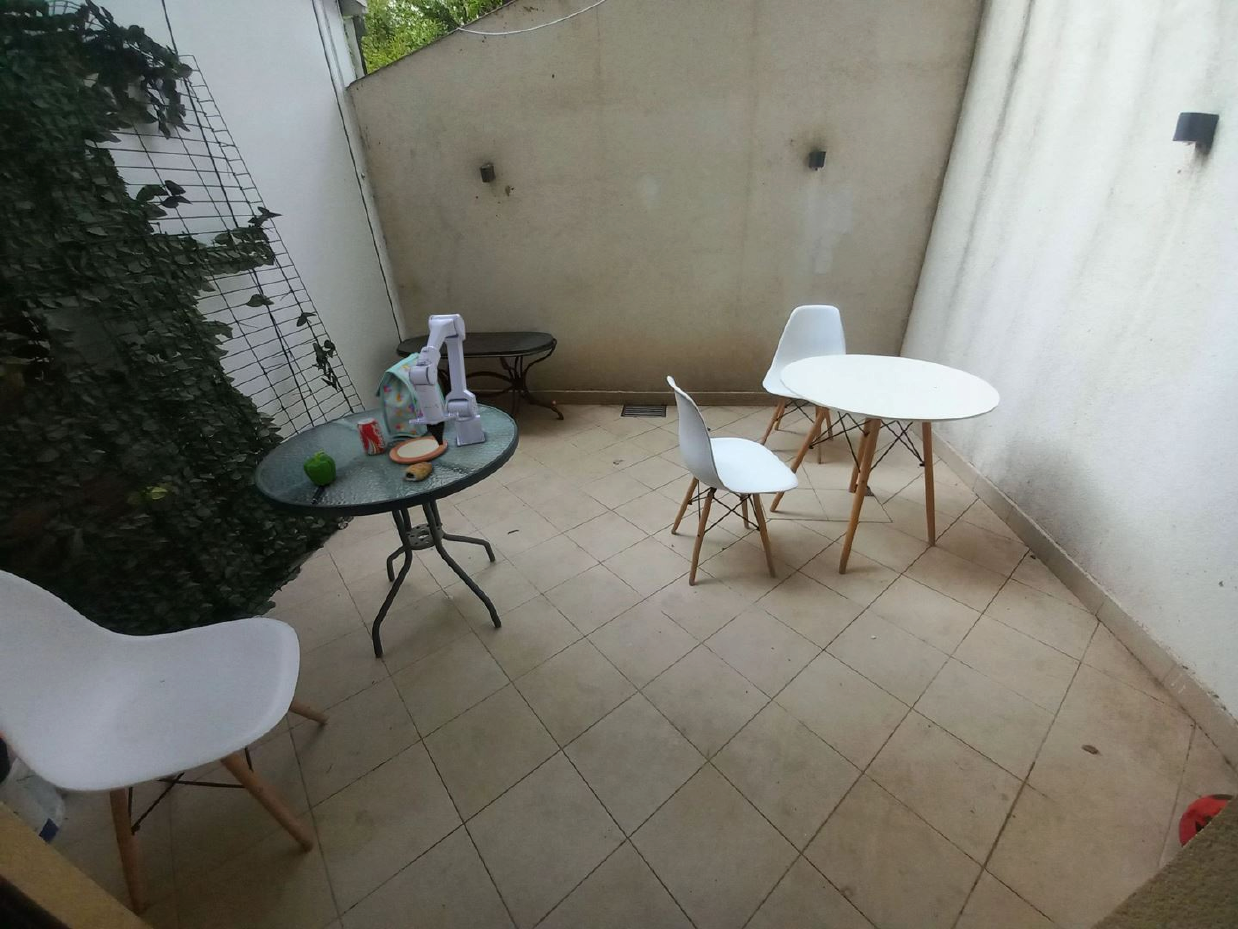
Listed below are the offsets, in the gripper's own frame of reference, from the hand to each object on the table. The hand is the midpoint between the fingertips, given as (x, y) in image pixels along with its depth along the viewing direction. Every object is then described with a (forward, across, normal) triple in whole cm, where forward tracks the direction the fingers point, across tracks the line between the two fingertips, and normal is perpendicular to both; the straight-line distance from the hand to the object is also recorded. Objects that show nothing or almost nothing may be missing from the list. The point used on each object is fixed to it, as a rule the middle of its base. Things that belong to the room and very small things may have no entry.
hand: (440, 443), depth 152 cm
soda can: (+9, -24, +23) cm, 34 cm away
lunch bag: (+9, -10, +40) cm, 42 cm away
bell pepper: (+9, -37, +6) cm, 39 cm away
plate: (+9, -9, +16) cm, 20 cm away
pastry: (+9, -9, -2) cm, 13 cm away
